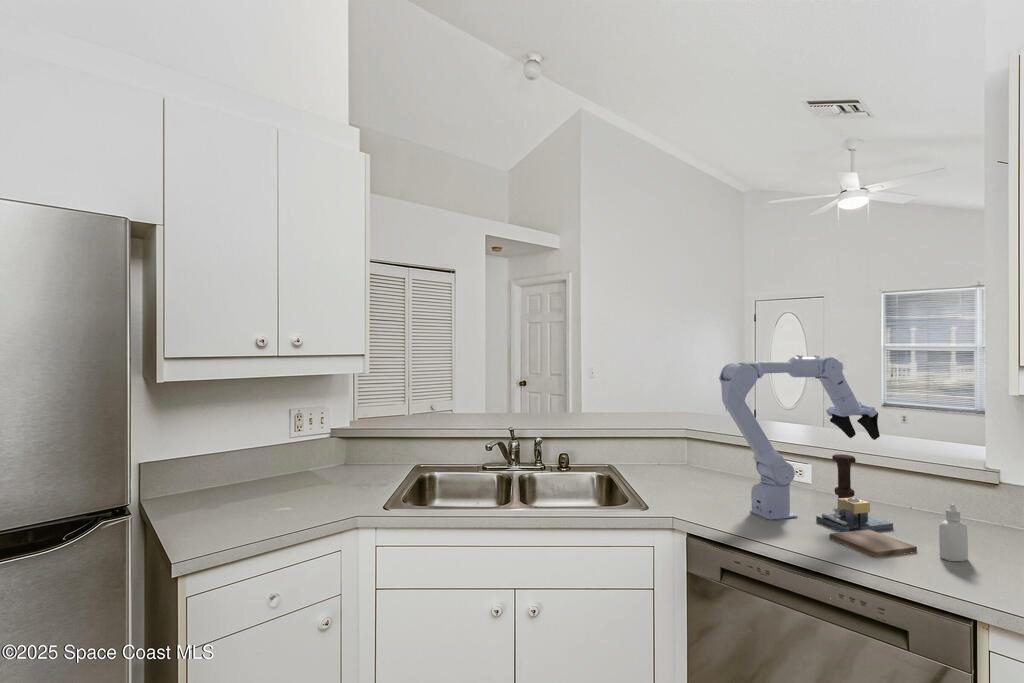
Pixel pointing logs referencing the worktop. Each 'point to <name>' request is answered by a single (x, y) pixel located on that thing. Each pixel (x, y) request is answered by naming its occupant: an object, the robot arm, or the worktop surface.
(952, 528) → the eye dropper bottle
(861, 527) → the vise
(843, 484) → the bolt
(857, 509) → the collar
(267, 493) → the worktop surface
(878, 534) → the board
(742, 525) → the worktop surface
